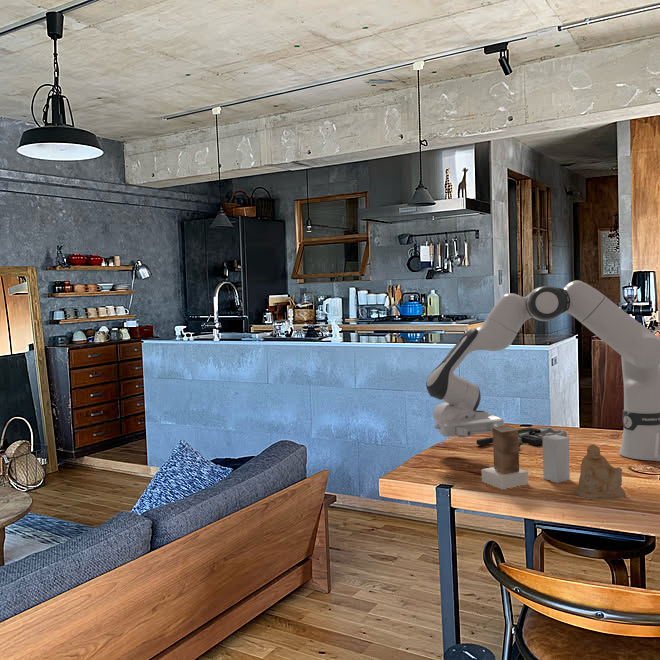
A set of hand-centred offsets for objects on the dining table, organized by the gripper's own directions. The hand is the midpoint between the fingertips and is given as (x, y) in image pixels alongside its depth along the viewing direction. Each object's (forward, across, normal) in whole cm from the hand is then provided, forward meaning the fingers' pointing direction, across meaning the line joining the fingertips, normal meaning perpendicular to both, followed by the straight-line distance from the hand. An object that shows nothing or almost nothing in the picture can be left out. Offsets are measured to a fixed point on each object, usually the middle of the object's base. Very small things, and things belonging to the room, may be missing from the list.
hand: (482, 431), depth 199 cm
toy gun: (-28, +29, +13) cm, 42 cm away
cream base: (+12, 0, +12) cm, 18 cm away
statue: (+30, +18, +12) cm, 37 cm away
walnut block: (+13, 0, +8) cm, 15 cm away
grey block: (+15, +15, +12) cm, 24 cm away
